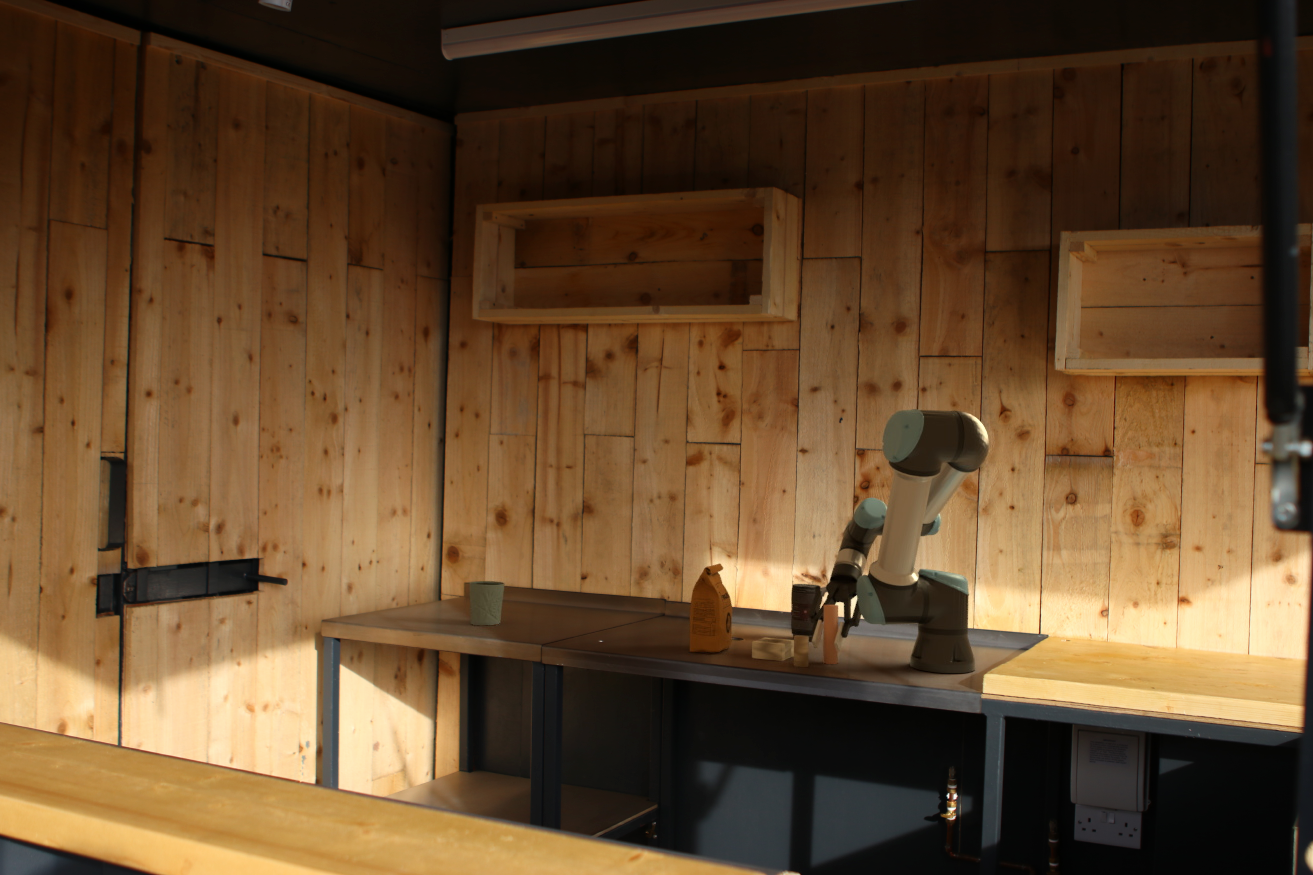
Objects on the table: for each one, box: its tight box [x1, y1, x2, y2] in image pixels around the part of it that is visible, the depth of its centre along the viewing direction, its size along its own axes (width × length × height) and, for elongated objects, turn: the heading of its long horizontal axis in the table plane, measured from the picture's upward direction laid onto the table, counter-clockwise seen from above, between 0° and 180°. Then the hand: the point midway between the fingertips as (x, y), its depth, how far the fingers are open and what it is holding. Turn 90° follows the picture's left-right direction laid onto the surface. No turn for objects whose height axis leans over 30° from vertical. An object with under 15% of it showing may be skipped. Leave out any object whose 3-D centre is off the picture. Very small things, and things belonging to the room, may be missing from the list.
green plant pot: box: [468, 580, 505, 626], centre depth 324 cm, size 10×10×12 cm
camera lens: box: [790, 583, 822, 643], centre depth 305 cm, size 8×8×15 cm
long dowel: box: [822, 604, 839, 665], centre depth 271 cm, size 4×4×14 cm
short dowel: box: [793, 635, 810, 668], centre depth 268 cm, size 4×4×7 cm
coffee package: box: [689, 563, 733, 654], centre depth 286 cm, size 10×12×22 cm
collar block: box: [751, 637, 794, 662], centre depth 278 cm, size 8×8×4 cm
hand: (825, 645), depth 268 cm, fingers open, 5 cm apart
